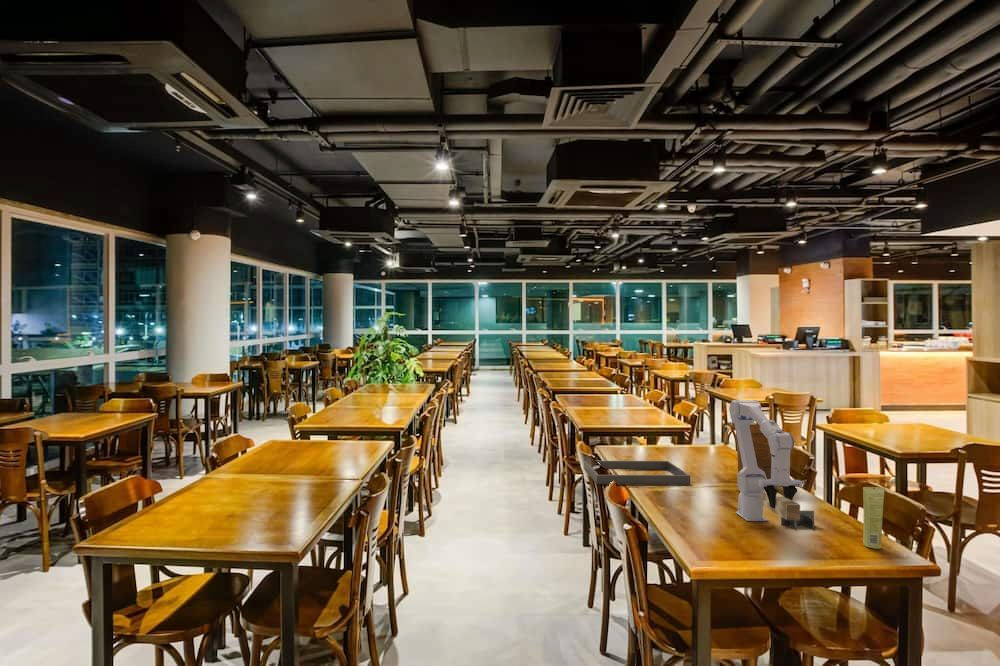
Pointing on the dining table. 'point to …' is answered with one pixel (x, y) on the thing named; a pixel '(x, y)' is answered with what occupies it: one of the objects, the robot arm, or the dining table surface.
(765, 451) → the pancake mix bag
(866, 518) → the tube
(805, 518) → the bracket
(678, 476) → the paper frame
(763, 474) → the robot arm
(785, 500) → the rail
